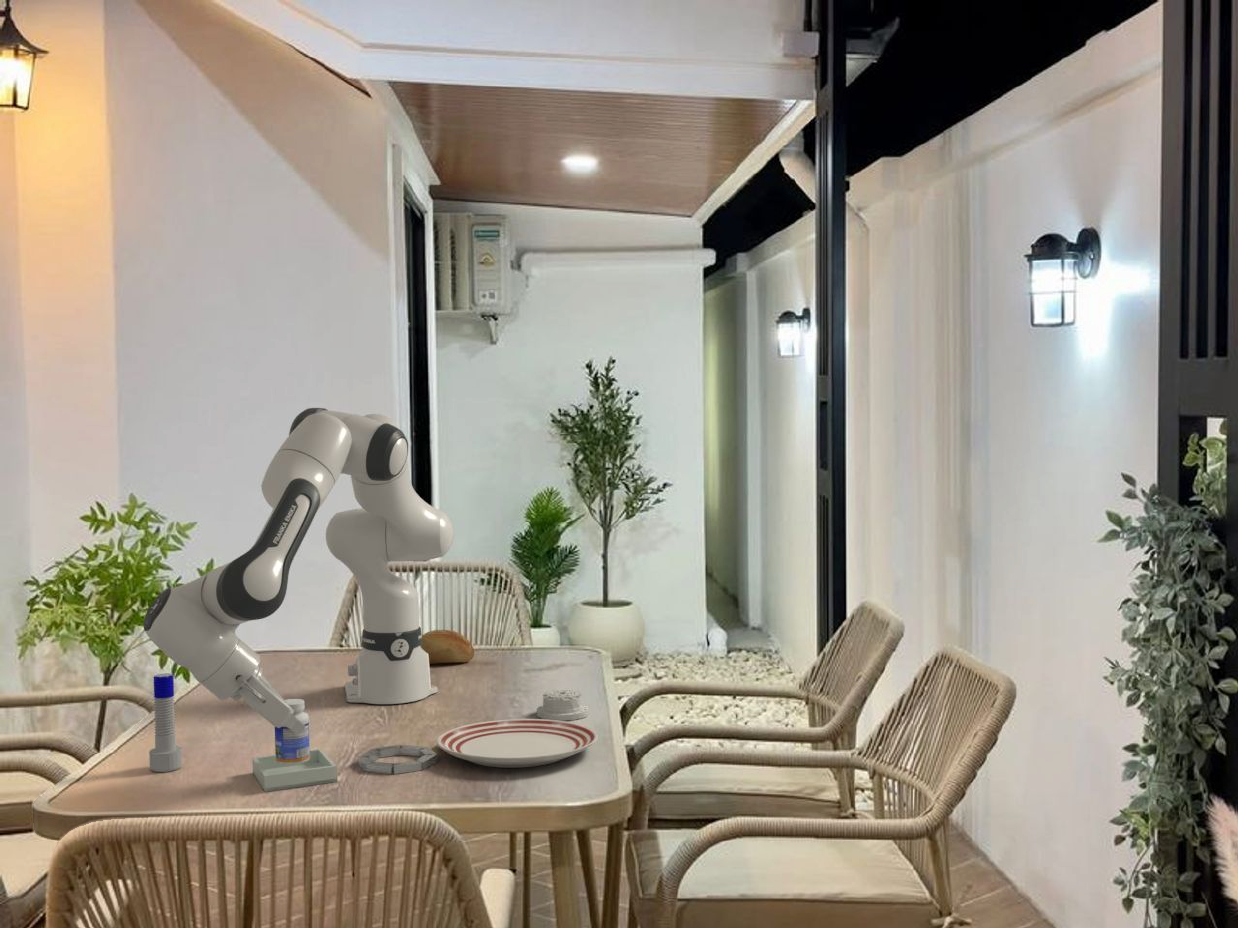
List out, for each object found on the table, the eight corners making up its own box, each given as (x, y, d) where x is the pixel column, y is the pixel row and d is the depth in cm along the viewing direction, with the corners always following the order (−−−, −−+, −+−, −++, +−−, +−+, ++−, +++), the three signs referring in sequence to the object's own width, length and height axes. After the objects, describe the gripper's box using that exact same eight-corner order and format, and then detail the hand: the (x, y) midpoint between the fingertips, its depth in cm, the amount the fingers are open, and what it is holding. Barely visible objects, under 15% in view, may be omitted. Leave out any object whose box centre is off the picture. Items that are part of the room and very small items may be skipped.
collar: (352, 758, 205) (352, 751, 205) (422, 748, 210) (422, 741, 210) (370, 777, 194) (370, 770, 194) (443, 766, 200) (443, 759, 199)
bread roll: (474, 667, 278) (473, 632, 277) (408, 669, 276) (407, 634, 276) (474, 658, 287) (473, 625, 287) (410, 660, 286) (409, 627, 285)
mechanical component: (530, 721, 229) (581, 723, 227) (530, 698, 229) (581, 700, 227) (544, 708, 239) (593, 710, 237) (544, 686, 239) (593, 688, 237)
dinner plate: (451, 732, 222) (451, 714, 221) (601, 732, 221) (601, 714, 221) (423, 778, 194) (423, 758, 194) (593, 777, 193) (593, 757, 193)
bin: (252, 772, 197) (252, 757, 197) (321, 763, 202) (321, 748, 202) (264, 791, 187) (264, 775, 187) (337, 781, 192) (336, 765, 192)
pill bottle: (275, 758, 196) (273, 699, 196) (309, 754, 198) (307, 695, 198) (276, 767, 191) (273, 706, 191) (311, 763, 193) (309, 703, 192)
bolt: (145, 773, 198) (155, 764, 203) (177, 772, 198) (185, 763, 203) (143, 678, 197) (152, 672, 202) (174, 677, 197) (183, 671, 202)
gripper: (258, 668, 182) (325, 724, 186) (237, 645, 200) (298, 697, 205) (228, 700, 180) (296, 757, 185) (209, 674, 198) (271, 726, 203)
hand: (297, 725), depth 195 cm, fingers closed on pill bottle, 5 cm apart
